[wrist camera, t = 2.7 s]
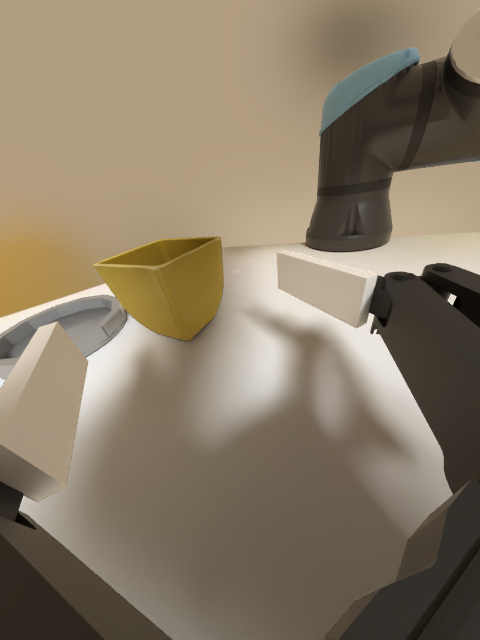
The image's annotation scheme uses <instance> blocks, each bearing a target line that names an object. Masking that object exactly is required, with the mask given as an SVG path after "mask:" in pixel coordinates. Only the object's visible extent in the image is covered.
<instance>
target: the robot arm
mask: <svg viewBox="0 0 480 640" xmlns="http://www.w3.org/2000/svg"><path fill="white" fill-rule="evenodd" d="M419 60H420V56H419V50H418V49H417V48H408V49H406V50H404V51H403V50H399V51H396V52H394V53H391V54H388V55H386V56H384V57H381V58H379V59H377V60H375V61H373V62H371V63H369V64H367V65H365V66H363V67H362V68H360V69H358V70H356V71H355V72H353V73H352V74H350V75H349V76H347V77H346V78H344V79H343V80H342V81H340V82H339V83H338V84H337V85H336V86H334V87H333V89H332V90H331V91H330V93H329V94H328V95H327V97H326V99H325V101H324V104H323V111H322V121H321V130H320V132H319V136H321V141H320V157H319V173H318V192H317V202H316V206H315V209H314V212H313V215H312V219H311V222H310V227H309V228H308V229H307V233H306V244H307V245H308V246H309V247H312V248H315V249H319V250H326V251H357V250H365V249H370V248H375V247H378V246H381V245H384V244H386V243H387V242H388V241H389V240H390V236H391V232H392V219H391V209H390V201H389V189H390V184H391V179H392V176H393V172H397V171H403V170H411V169H418V168H425V167H433V166H440V165H448V164H455V163H463V162H471V161H472V162H473V161H480V7H479V8H478V9H477V10H476V11H474V12H473V13H472V14H471V16H470V17H469V18H468V19H467V20H466V21H465V22H464V24H463V25H462V26H461V28H460V29H459V31H458V33H457V35H456V37H455V39H454V41H453V44H452V46H451V48H450V51H449V53H448V55H447V56H446V57H443V58H440V59H436V60H434V61H431V62H427V63H424V64H420V65H417V64H418V63H419ZM277 267H278V288H279V289H281V290H283V291H285V292H287V293H289V294H290V295H292V296H294V297H296V298H298V299H300V300H302V301H304V302H306V303H308V304H310V305H312V306H314V307H316V308H318V309H320V310H322V311H324V312H326V313H328V314H329V315H331V316H333V317H335V318H337V319H339V320H341V321H343V322H345V323H347V324H349V325H351V326H353V327H355V328H358V327H360V326H362V325H364V324H365V323H367V318H368V314H369V313H371V314H374V319H373V323H372V327H371V331H370V333H371V334H373V332H374V330H375V329H377V333H376V334H380V335H381V337H382V339H383V341H384V342H385V344H386V346H387V348H388V350H389V352H390V354H391V355H392V357H393V359H394V361H395V363H396V365H397V367H398V368H399V370H400V372H401V374H402V376H403V378H404V380H405V382H406V383H407V385H408V387H409V389H410V391H411V393H412V395H413V396H414V398H415V400H416V402H417V404H418V406H419V408H420V409H421V411H422V413H423V415H424V417H425V419H426V421H427V423H428V424H429V426H430V428H431V430H432V432H433V434H434V436H435V437H436V439H437V441H438V443H439V445H440V447H441V449H442V451H443V455H444V472H445V476H446V480H447V482H448V484H449V487H450V489H451V491H452V493H453V496H451V497H450V498H449V499H448V500H447V501H446V502H444V503H443V504H442V505H441V506H440V507H439V508H437V509H436V510H435V511H434V512H433V513H432V514H430V515H429V516H428V518H427V519H426V520H425V521H424V522H423V523H422V525H421V526H420V527H419V528H418V529H417V530H416V532H415V533H414V534H413V535H412V536H411V537H410V538H409V540H408V542H407V546H406V549H405V552H404V556H403V559H402V562H401V566H400V569H399V572H398V575H397V579H396V581H395V583H393V584H390V585H388V586H386V587H384V588H381V589H379V590H377V591H375V592H373V593H371V594H369V595H367V596H365V597H363V598H361V599H359V600H357V601H355V602H354V603H353V605H352V606H351V607H350V608H349V609H348V610H347V612H346V613H345V614H344V615H343V616H342V617H341V618H340V620H339V621H338V622H337V623H336V624H335V625H334V627H333V628H332V629H331V630H330V631H329V632H328V634H327V635H326V636H325V637H324V638H325V640H480V275H478V274H475V273H473V272H470V271H467V270H464V269H462V268H459V267H456V266H452V265H449V264H445V263H436V264H430V265H427V266H425V268H424V270H423V273H422V276H416V275H414V274H412V273H407V272H390V273H387V274H386V275H385V276H384V277H382V276H378V273H374V272H370V271H366V270H362V269H359V268H355V267H351V266H347V265H343V264H340V263H336V262H332V261H328V260H324V259H320V258H317V257H313V256H309V255H305V254H301V253H298V252H294V251H290V250H286V249H285V250H282V251H279V252H277ZM450 294H453V295H455V296H457V297H456V299H455V302H454V304H453V306H452V305H451V304H450V303H449V302H448V298H449V296H450ZM87 366H88V361H87V359H86V358H85V357H84V355H83V354H82V353H81V352H80V350H79V349H78V348H77V346H76V345H75V344H74V342H73V341H72V340H71V338H70V337H69V336H68V334H67V333H66V332H65V330H64V329H63V328H62V327H61V325H60V324H59V323H58V321H57V322H54V323H51V324H48V325H44V326H41V327H39V328H38V329H37V331H36V333H35V334H34V336H33V337H32V339H31V341H30V342H29V344H28V345H27V347H26V349H25V350H24V352H23V353H22V355H21V357H20V358H19V360H18V361H17V363H16V365H15V366H14V368H13V369H12V371H11V373H10V374H9V376H8V377H7V379H6V381H5V382H4V384H3V385H2V387H1V389H0V640H172V639H171V638H170V637H169V636H167V635H166V634H165V633H164V632H163V631H162V630H160V629H159V628H158V627H157V626H156V625H155V624H153V623H152V622H151V621H150V620H149V619H148V618H147V617H145V616H144V615H143V614H142V613H141V612H140V611H138V610H137V609H136V608H135V607H134V606H133V605H131V604H130V603H129V602H128V601H127V600H126V599H124V598H123V597H122V596H121V595H120V594H119V593H117V592H116V591H115V590H114V589H113V588H112V587H110V586H109V585H108V584H107V583H106V582H105V581H104V580H102V579H101V578H100V577H99V576H98V575H97V574H95V573H94V572H93V571H92V570H91V569H90V568H88V567H87V566H86V565H85V564H84V563H83V562H81V561H80V560H79V559H78V558H77V557H76V556H74V555H73V554H72V553H71V552H70V551H69V550H67V549H66V548H65V547H64V546H63V545H62V544H61V543H59V542H58V541H57V540H56V539H55V538H54V537H52V536H51V535H50V534H49V533H48V532H47V531H45V530H44V529H43V528H42V527H41V526H40V525H38V524H37V523H36V522H35V521H34V520H33V519H31V518H30V517H29V516H28V515H27V514H25V513H23V512H20V511H18V510H19V507H20V504H21V501H22V497H23V495H24V496H26V497H28V498H30V499H32V500H34V501H36V502H39V501H40V500H42V499H44V498H46V497H48V496H50V495H51V494H53V493H55V492H57V491H59V490H61V489H62V488H64V487H66V486H67V480H68V474H69V469H70V463H71V457H72V451H73V446H74V440H75V434H76V429H77V423H78V417H79V411H80V406H81V400H82V394H83V389H84V383H85V377H86V372H87Z"/></svg>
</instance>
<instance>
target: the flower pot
mask: <svg viewBox="0 0 480 640" xmlns="http://www.w3.org/2000/svg"><path fill="white" fill-rule="evenodd" d="M93 266H94V267H95V268H96V270H97V271H98V273H99V274H100V276H101V277H102V278H103V280H104V281H105V283H106V284H107V285H108V287H109V288H110V290H111V291H112V292H113V294H114V295H115V297H116V298H117V299H118V301H119V302H120V304H121V305H122V306H123V308H124V309H125V310H126V311H127V312H128V313H129V314H130V315H131V316H132V317H133V318H134V319H136V320H137V321H138V322H139V323H141V324H142V325H144V326H145V327H147V328H148V329H150V330H152V331H154V332H155V333H157V334H161V335H165V336H169V337H173V338H176V339H180V340H184V341H189V340H191V339H192V338H193V337H194V336H195V335H196V334H197V333H198V332H199V331H200V330H201V329H202V328H203V327H204V326H206V325H207V324H208V323H209V322H210V321H211V320H212V319H213V318H214V316H215V314H216V312H217V310H218V307H219V304H220V301H221V297H222V293H223V261H222V246H221V237H198V238H175V239H160V240H157V241H154V242H151V243H148V244H145V245H143V246H140V247H137V248H135V249H132V250H129V251H126V252H124V253H121V254H118V255H116V256H113V257H110V258H107V259H105V260H102V261H100V262H97V263H95V264H93Z"/></svg>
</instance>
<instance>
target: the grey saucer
mask: <svg viewBox="0 0 480 640" xmlns="http://www.w3.org/2000/svg"><path fill="white" fill-rule="evenodd" d="M126 319H127V316H126V313H125V310H124V308H123V306H122V305H121V304H120V302H119V301H118V299H117V298H116V297H113V296H109V295H99V296H91V297H84V298H80V299H76V300H73V301H70V302H66V303H63V304H60V305H56V306H55V307H51V308H49V309H47V310H44V311H42V312H40V313H38V314H35V315H33V316H31V317H29V318H26V319H24V320H23V321H20V322H19V323H17V324H16V325H14V326H12V327H11V328H9V329H8V330H6V331H4V332H3V333H1V334H0V378H2V379H5V380H6V379H7V377H8V376H9V374H10V373H11V371H12V369H13V368H14V366H15V365H16V363H17V361H18V360H19V358H20V357H21V355H22V353H23V352H24V350H25V349H26V347H27V345H28V344H29V342H30V341H31V339H32V337H33V336H34V334H35V333H36V331H37V329H38V328H39V327H41V326H44V325H48V324H51V323H54V322H57V321H58V323H59V324H60V325H61V327H62V328H63V329H64V330H65V332H66V333H67V334H68V336H69V337H70V338H71V340H72V341H73V342H74V344H75V345H76V346H77V348H78V349H79V350H80V352H81V353H82V354H83V355H84V357H87V356H89V355H90V354H92V353H94V352H95V351H97V350H98V349H100V348H101V347H103V346H104V345H105V344H107V343H108V342H109V341H110V340H111V339H113V338H114V337H115V336H116V335H117V334H118V333H119V332H120V330H121V329H122V328H123V326H124V324H125V323H126Z"/></svg>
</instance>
